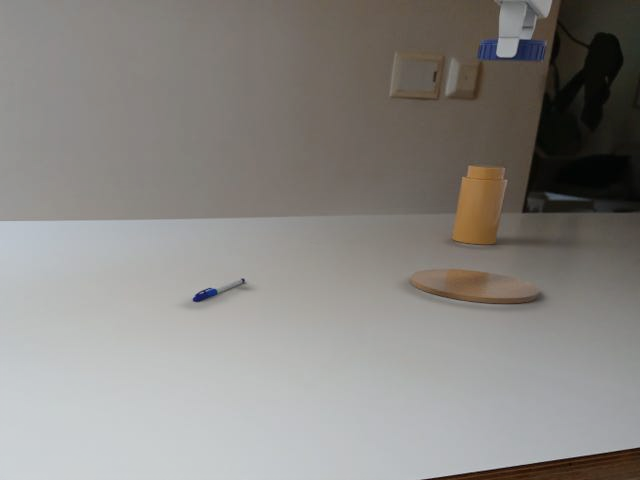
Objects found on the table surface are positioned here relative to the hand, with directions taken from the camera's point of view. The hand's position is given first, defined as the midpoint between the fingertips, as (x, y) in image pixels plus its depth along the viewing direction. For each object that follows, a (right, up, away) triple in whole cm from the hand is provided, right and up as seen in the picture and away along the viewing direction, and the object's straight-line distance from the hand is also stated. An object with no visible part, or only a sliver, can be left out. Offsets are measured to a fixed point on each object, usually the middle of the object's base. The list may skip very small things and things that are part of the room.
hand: (510, 60), depth 75 cm
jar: (+10, -13, +34) cm, 38 cm away
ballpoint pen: (-29, -24, +1) cm, 38 cm away
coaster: (-1, -23, +6) cm, 23 cm away
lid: (0, +1, 0) cm, 1 cm away
